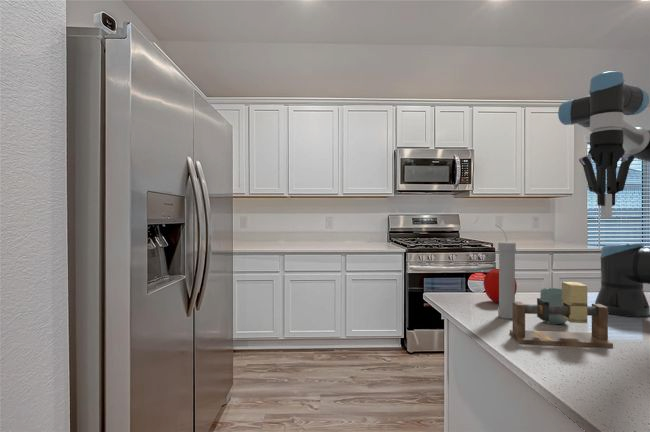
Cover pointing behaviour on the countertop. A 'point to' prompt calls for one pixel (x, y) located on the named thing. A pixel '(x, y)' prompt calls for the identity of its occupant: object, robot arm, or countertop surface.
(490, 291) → the tomato
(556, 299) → the cup
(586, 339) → the rail
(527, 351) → the countertop surface
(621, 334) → the countertop surface
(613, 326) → the countertop surface
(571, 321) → the sleeve
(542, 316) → the dark grey square ring
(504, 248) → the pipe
